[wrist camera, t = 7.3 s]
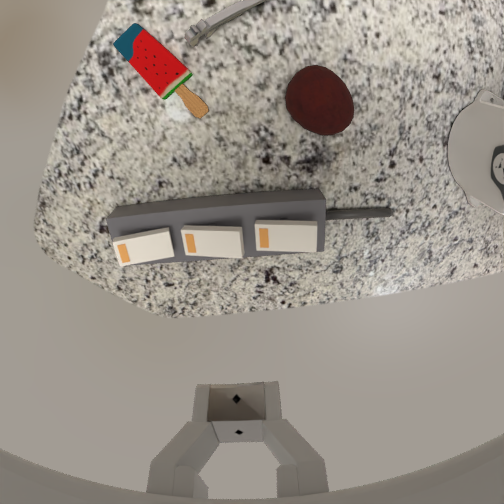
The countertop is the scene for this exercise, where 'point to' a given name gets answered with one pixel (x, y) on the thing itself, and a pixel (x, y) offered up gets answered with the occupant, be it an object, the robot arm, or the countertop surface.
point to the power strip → (230, 217)
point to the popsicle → (158, 67)
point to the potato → (319, 101)
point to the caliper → (218, 20)
